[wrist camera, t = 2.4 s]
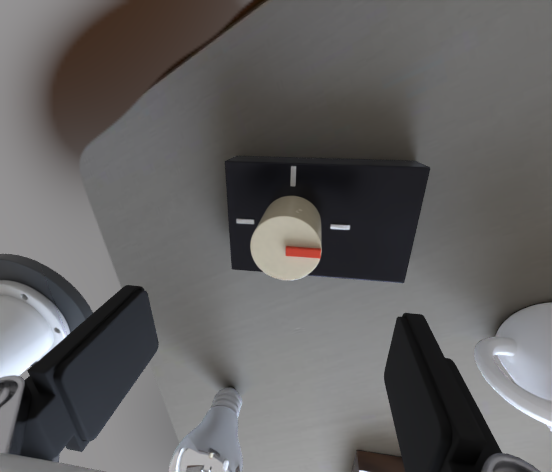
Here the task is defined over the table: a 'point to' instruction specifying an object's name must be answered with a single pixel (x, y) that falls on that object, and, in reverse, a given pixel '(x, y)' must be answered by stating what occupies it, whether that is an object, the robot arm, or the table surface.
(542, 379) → the mug
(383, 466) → the switch block
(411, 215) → the hob panel
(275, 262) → the hob knob
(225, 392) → the light bulb
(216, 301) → the table surface
